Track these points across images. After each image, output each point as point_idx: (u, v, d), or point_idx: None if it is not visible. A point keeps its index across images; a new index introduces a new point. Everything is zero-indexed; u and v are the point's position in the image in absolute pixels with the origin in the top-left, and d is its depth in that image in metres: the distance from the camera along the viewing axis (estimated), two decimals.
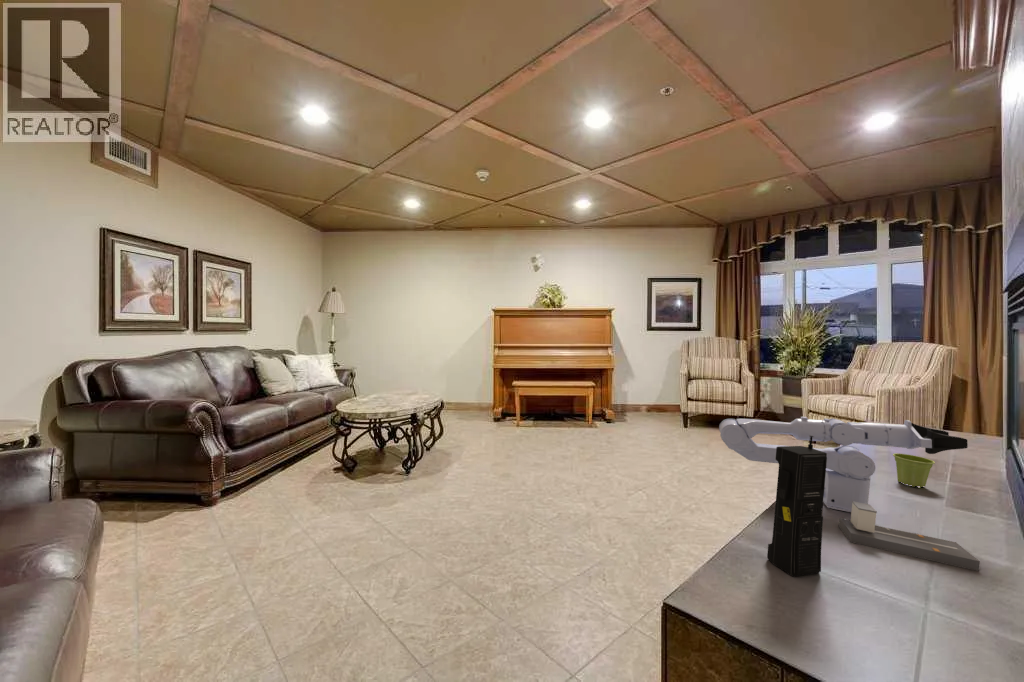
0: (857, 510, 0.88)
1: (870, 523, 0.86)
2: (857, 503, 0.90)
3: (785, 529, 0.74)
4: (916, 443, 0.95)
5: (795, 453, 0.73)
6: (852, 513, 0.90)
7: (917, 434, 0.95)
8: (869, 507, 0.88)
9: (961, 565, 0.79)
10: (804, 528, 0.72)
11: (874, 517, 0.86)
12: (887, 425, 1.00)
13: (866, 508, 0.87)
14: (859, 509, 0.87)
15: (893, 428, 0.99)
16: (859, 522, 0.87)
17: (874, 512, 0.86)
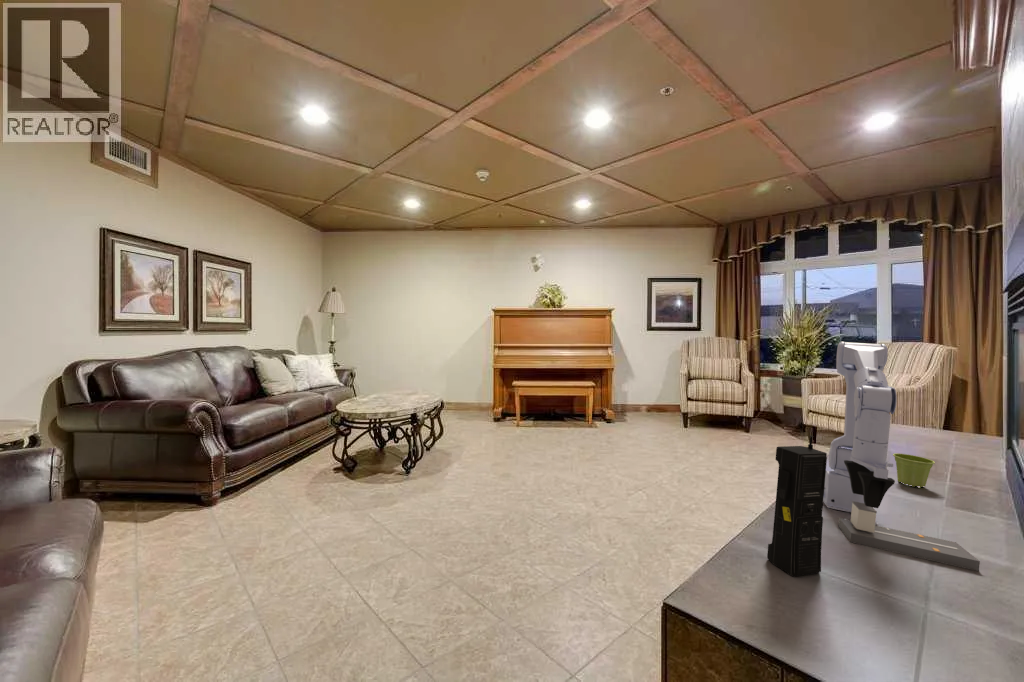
0: (857, 510, 0.88)
1: (870, 523, 0.86)
2: (857, 503, 0.90)
3: (785, 529, 0.74)
4: (873, 465, 0.84)
5: (795, 453, 0.73)
6: (852, 513, 0.90)
7: (886, 468, 0.83)
8: (869, 507, 0.88)
9: (961, 565, 0.79)
10: (804, 528, 0.72)
11: (874, 517, 0.86)
12: (887, 445, 0.86)
13: (866, 508, 0.87)
14: (859, 509, 0.87)
15: (886, 450, 0.85)
16: (859, 522, 0.87)
17: (874, 512, 0.86)
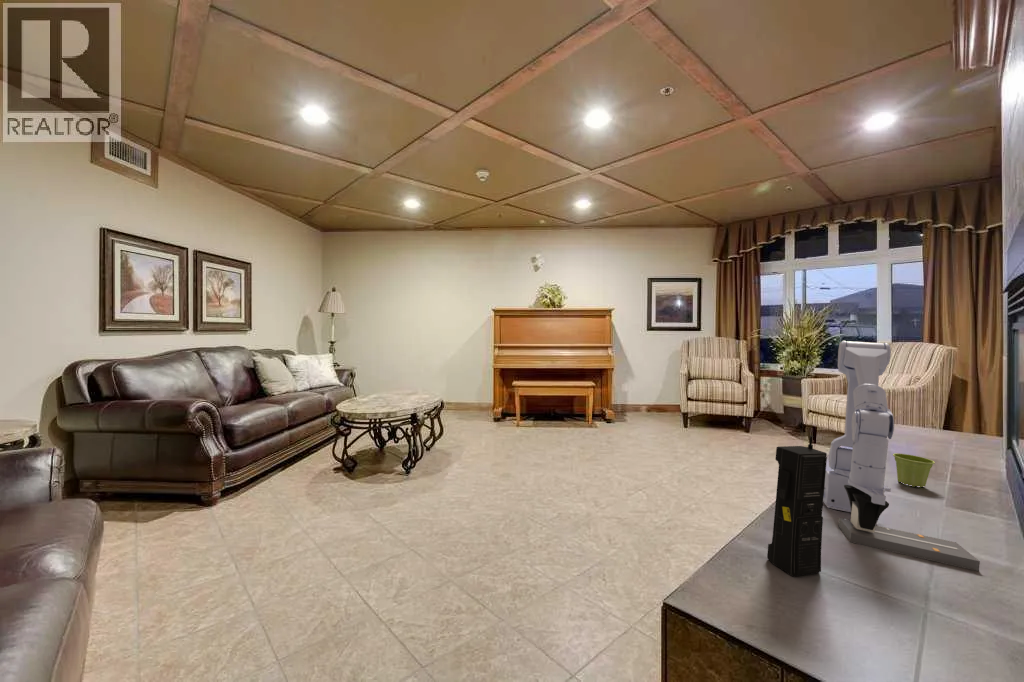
0: (857, 510, 0.88)
1: None
2: None
3: (785, 529, 0.74)
4: (870, 490, 0.84)
5: (795, 453, 0.73)
6: (852, 513, 0.90)
7: None
8: None
9: (961, 565, 0.79)
10: (804, 528, 0.72)
11: None
12: None
13: None
14: None
15: (883, 475, 0.86)
16: None
17: None
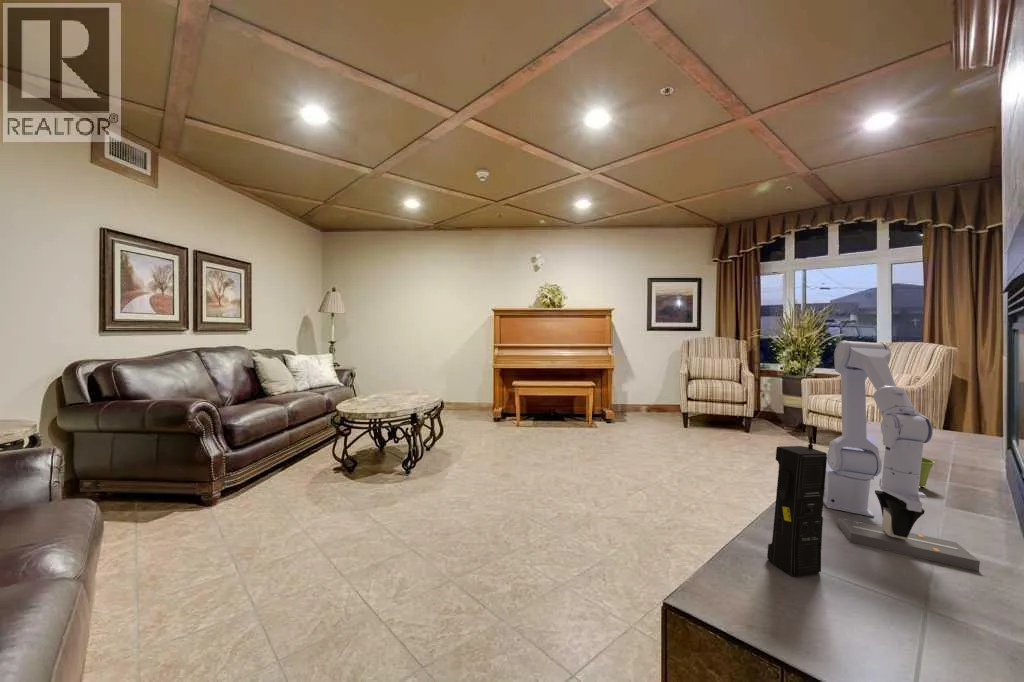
0: (890, 517, 0.86)
1: None
2: None
3: (785, 529, 0.74)
4: (905, 497, 0.82)
5: (795, 453, 0.73)
6: (884, 520, 0.88)
7: (919, 500, 0.81)
8: None
9: (961, 565, 0.79)
10: (804, 528, 0.72)
11: None
12: (919, 475, 0.84)
13: None
14: None
15: (918, 480, 0.83)
16: None
17: None
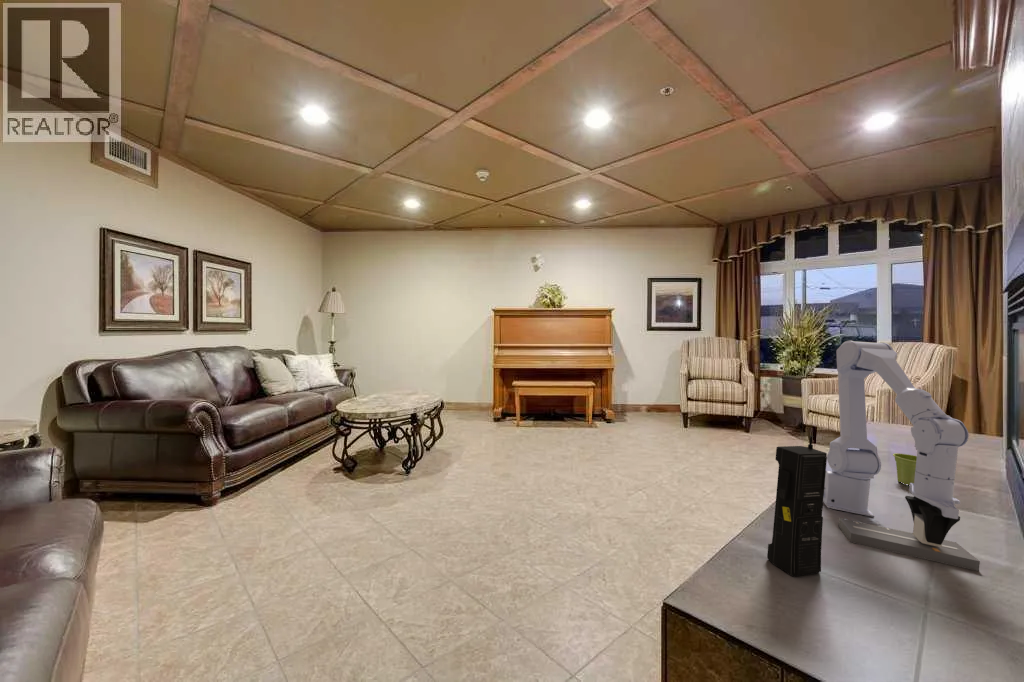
0: (922, 523, 0.83)
1: None
2: (921, 515, 0.85)
3: (785, 529, 0.74)
4: (940, 503, 0.80)
5: (795, 453, 0.73)
6: (915, 526, 0.86)
7: (955, 507, 0.79)
8: None
9: (961, 565, 0.79)
10: (804, 528, 0.72)
11: None
12: None
13: None
14: None
15: (953, 486, 0.81)
16: None
17: None
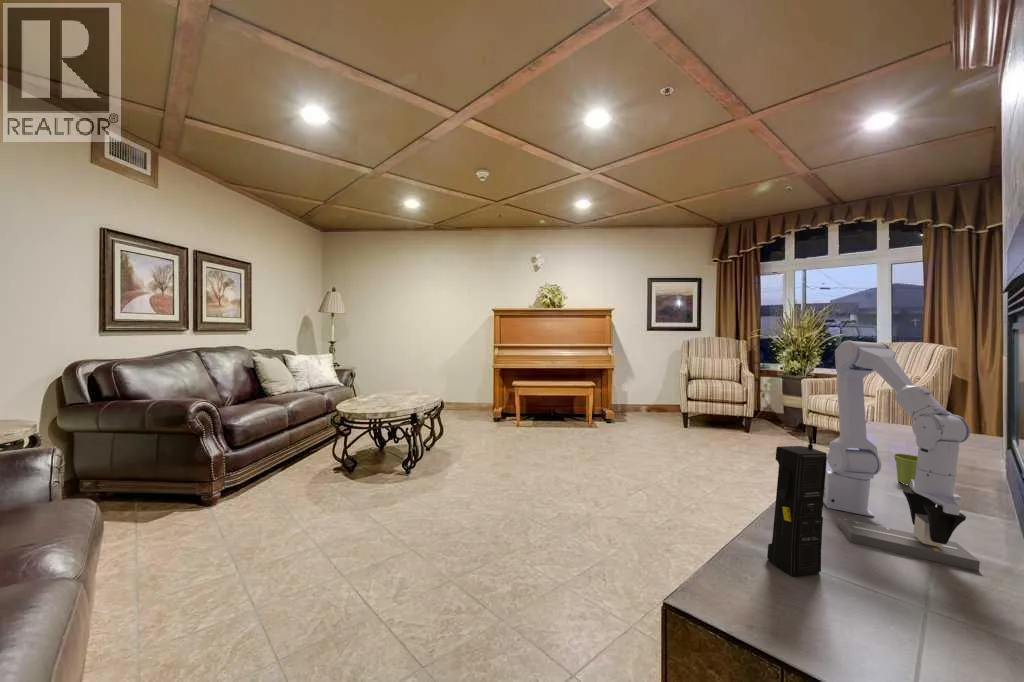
0: (923, 523, 0.83)
1: None
2: (921, 515, 0.85)
3: (785, 529, 0.74)
4: (941, 499, 0.80)
5: (795, 453, 0.73)
6: (916, 526, 0.86)
7: None
8: None
9: (961, 565, 0.79)
10: (804, 528, 0.72)
11: None
12: None
13: None
14: (925, 522, 0.83)
15: (954, 482, 0.81)
16: (926, 536, 0.83)
17: None
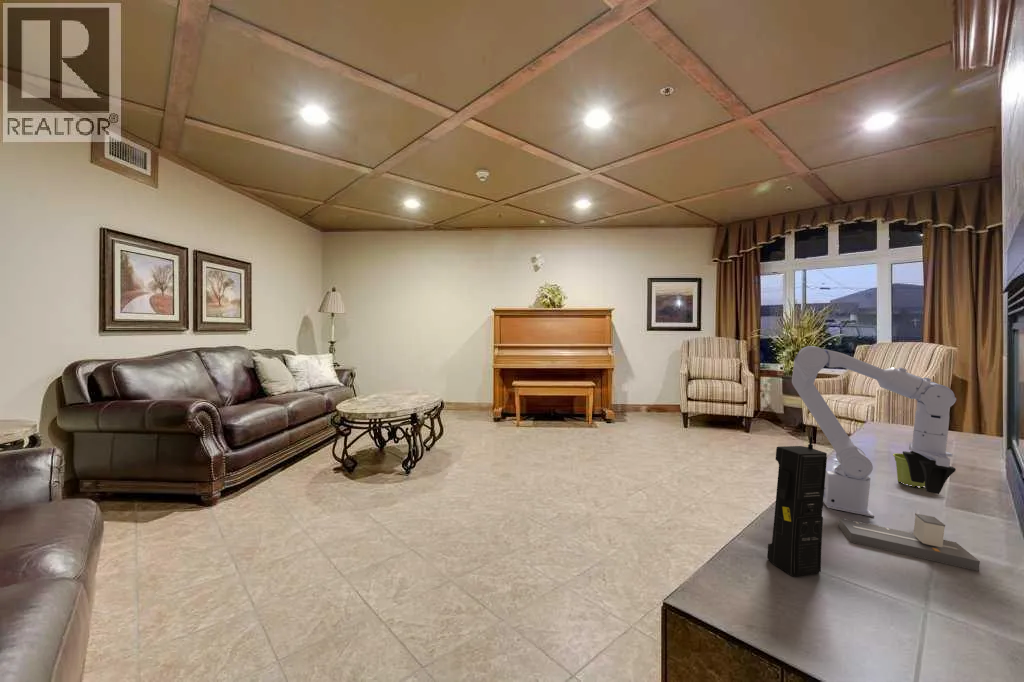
0: (923, 523, 0.83)
1: (938, 537, 0.82)
2: (921, 515, 0.85)
3: (785, 529, 0.74)
4: (934, 455, 0.93)
5: (795, 453, 0.73)
6: (916, 526, 0.86)
7: None
8: (936, 519, 0.84)
9: (961, 565, 0.79)
10: (804, 528, 0.72)
11: (942, 531, 0.82)
12: (947, 436, 0.94)
13: (933, 521, 0.83)
14: (925, 522, 0.83)
15: (946, 441, 0.94)
16: (926, 536, 0.83)
17: (942, 526, 0.82)
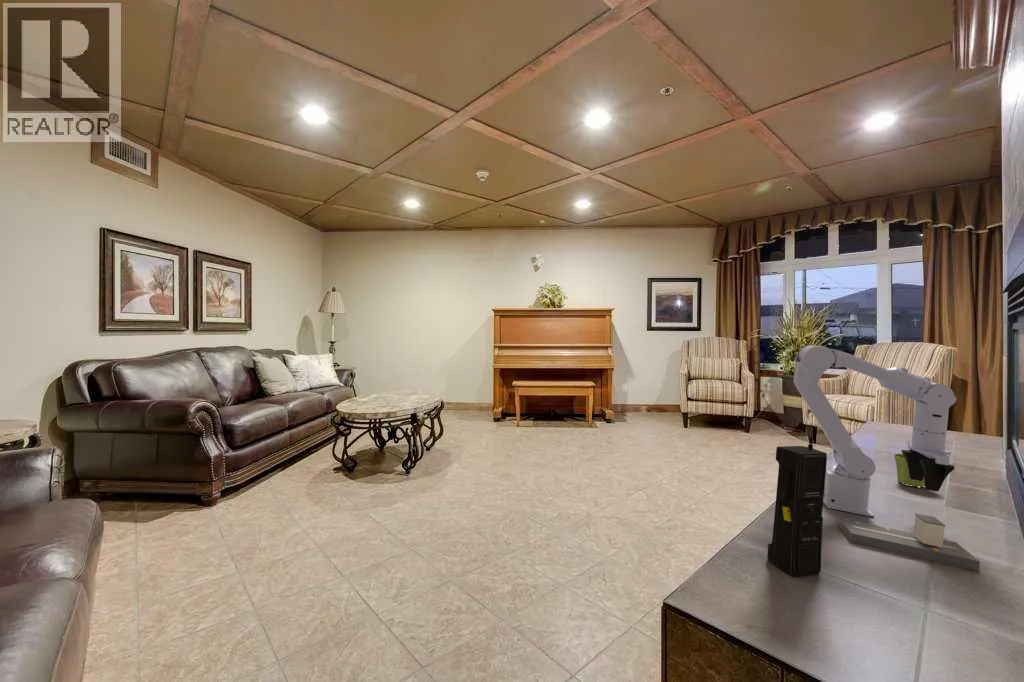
0: (923, 523, 0.83)
1: (938, 537, 0.82)
2: (921, 515, 0.85)
3: (785, 529, 0.74)
4: (934, 453, 0.94)
5: (795, 453, 0.73)
6: (916, 526, 0.86)
7: (946, 456, 0.93)
8: (936, 519, 0.84)
9: (961, 565, 0.79)
10: (804, 528, 0.72)
11: (942, 531, 0.82)
12: (945, 435, 0.96)
13: (933, 521, 0.83)
14: (925, 522, 0.83)
15: (944, 439, 0.95)
16: (926, 536, 0.83)
17: (942, 526, 0.82)
